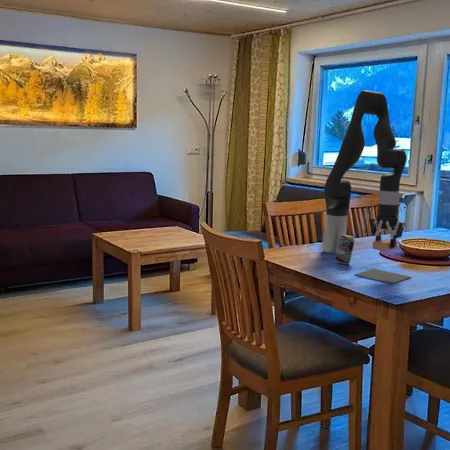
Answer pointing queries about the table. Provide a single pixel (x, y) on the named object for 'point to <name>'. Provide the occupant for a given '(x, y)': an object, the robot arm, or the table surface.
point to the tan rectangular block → (383, 245)
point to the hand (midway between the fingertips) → (385, 246)
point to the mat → (382, 276)
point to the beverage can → (345, 249)
